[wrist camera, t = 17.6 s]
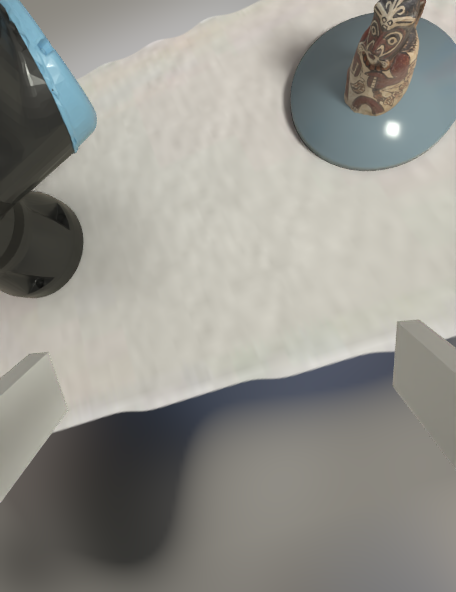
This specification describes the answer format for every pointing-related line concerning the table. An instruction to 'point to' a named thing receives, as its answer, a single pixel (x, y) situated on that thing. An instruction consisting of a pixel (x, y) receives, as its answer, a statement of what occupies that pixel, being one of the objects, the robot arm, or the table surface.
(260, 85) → the table surface
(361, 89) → the figurine
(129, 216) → the table surface
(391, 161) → the plate
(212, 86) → the table surface
